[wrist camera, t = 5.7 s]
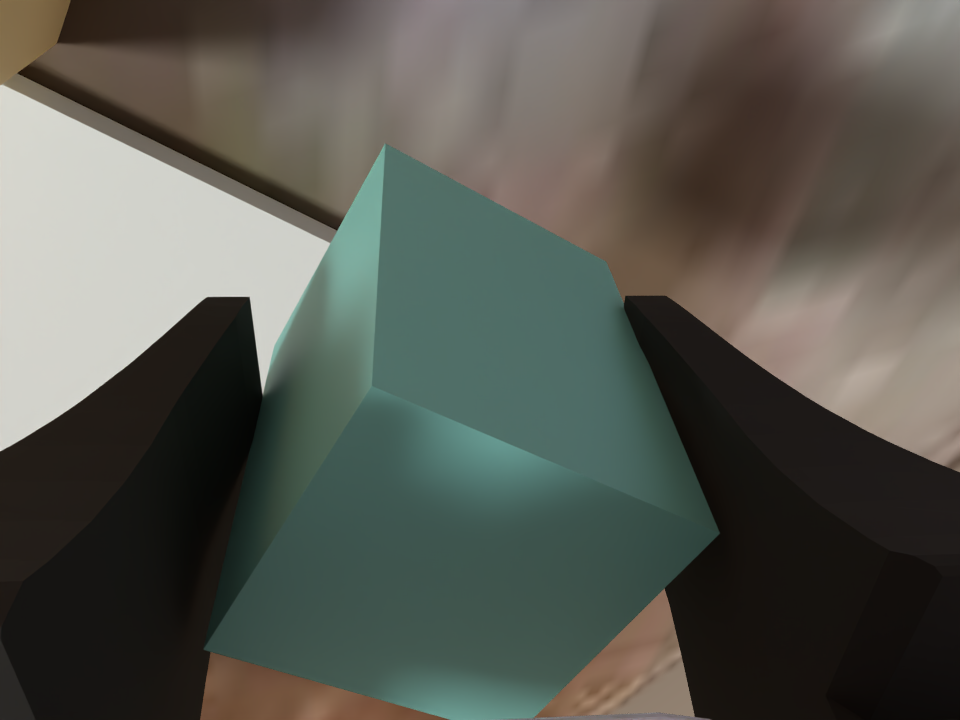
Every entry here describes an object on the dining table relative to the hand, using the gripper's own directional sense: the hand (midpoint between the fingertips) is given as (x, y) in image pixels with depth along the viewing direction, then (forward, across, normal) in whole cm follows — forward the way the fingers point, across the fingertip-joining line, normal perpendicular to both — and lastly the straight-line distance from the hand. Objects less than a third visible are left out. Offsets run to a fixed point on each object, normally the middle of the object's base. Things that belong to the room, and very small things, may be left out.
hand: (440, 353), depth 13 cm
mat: (+8, +7, +5) cm, 12 cm away
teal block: (+2, 0, 0) cm, 2 cm away
